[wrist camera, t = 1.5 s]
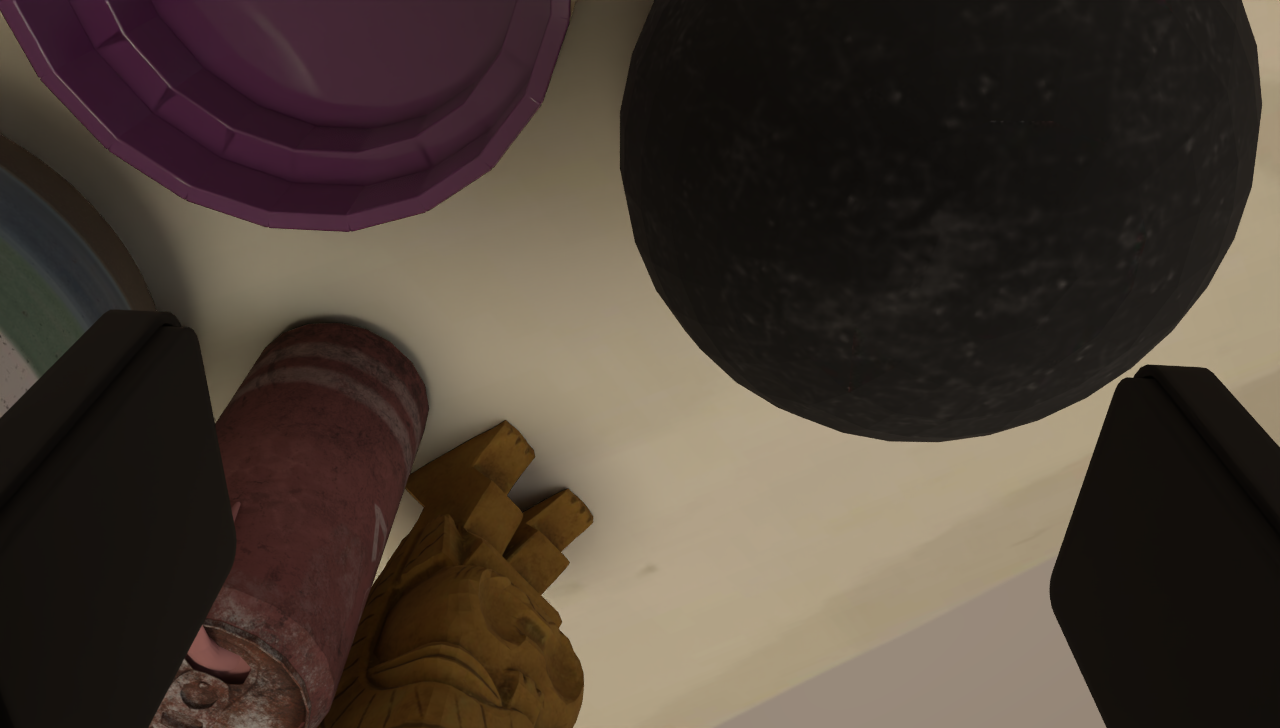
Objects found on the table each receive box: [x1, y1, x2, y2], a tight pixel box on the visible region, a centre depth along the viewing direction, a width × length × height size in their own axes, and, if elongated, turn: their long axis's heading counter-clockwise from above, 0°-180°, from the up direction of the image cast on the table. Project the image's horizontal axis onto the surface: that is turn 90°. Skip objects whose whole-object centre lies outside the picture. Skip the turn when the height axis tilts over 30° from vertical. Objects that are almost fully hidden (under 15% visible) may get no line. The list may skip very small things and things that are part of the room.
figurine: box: [317, 420, 593, 728], centre depth 32 cm, size 7×7×15 cm
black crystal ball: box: [620, 0, 1262, 442], centre depth 23 cm, size 13×13×15 cm
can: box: [148, 323, 429, 728], centre depth 30 cm, size 6×6×14 cm
